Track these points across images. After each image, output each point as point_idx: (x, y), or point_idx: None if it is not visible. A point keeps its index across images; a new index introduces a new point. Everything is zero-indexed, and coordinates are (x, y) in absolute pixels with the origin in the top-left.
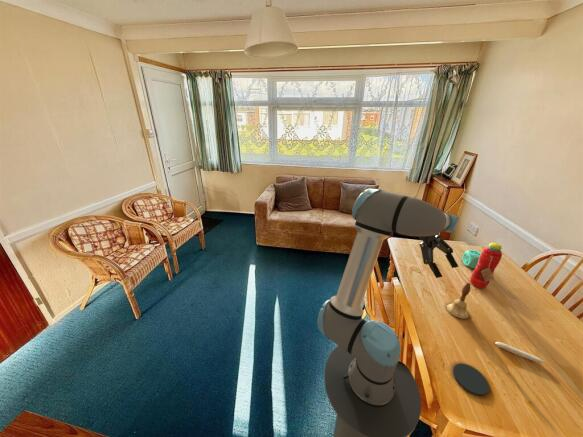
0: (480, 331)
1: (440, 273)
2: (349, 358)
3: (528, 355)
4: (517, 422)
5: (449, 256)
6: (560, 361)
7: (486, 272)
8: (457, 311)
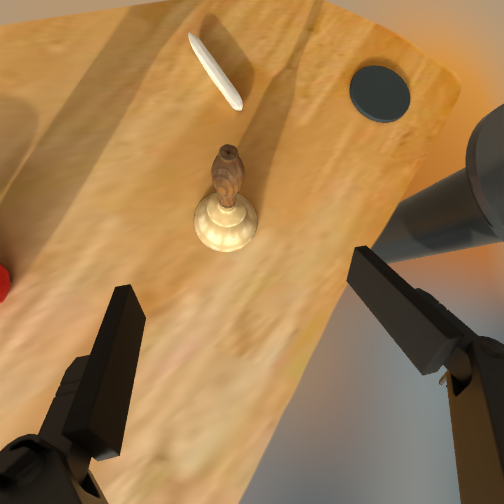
0: None
1: (373, 261)
2: None
3: (207, 53)
4: (365, 28)
5: (109, 406)
6: (139, 27)
7: None
8: (247, 207)
